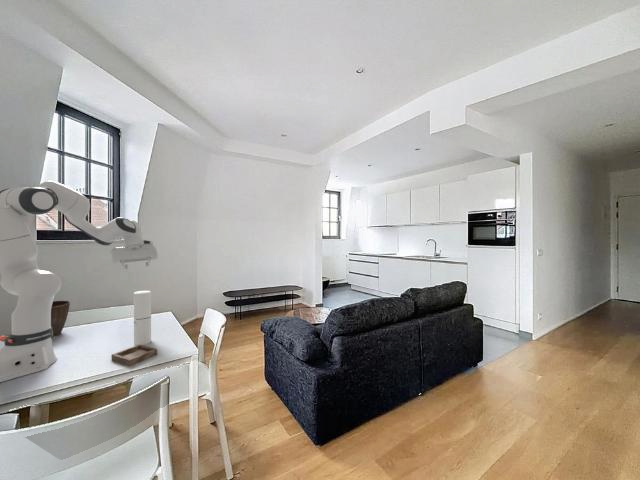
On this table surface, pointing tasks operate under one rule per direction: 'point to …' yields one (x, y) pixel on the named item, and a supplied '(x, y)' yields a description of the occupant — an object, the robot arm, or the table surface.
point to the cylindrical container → (142, 317)
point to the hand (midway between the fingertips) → (136, 267)
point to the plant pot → (59, 315)
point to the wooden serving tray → (134, 355)
